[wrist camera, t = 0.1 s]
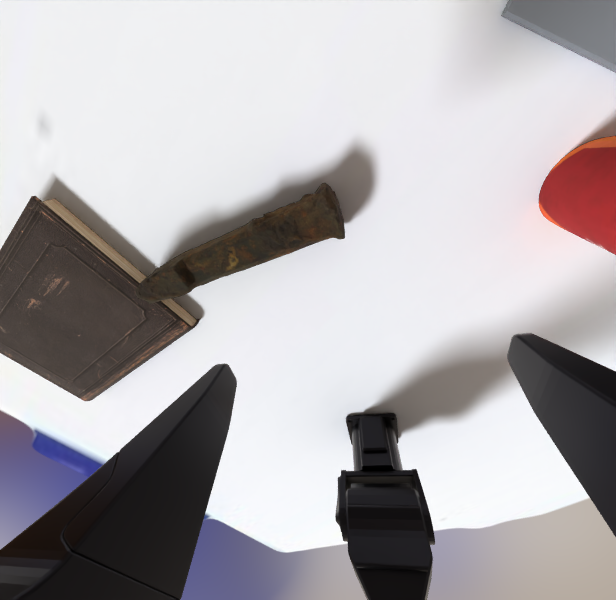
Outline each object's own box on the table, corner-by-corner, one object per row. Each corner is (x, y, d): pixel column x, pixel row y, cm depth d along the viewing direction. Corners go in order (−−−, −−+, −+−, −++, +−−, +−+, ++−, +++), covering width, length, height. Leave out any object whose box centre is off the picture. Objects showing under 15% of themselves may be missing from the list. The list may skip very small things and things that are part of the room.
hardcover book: (-22, 315, 30) (-46, 327, 28) (57, 191, 21) (30, 196, 20) (101, 389, 36) (88, 403, 34) (202, 317, 28) (192, 330, 26)
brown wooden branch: (332, 176, 19) (331, 186, 15) (347, 227, 21) (349, 247, 17) (138, 252, 24) (99, 274, 20) (164, 287, 26) (134, 314, 22)
